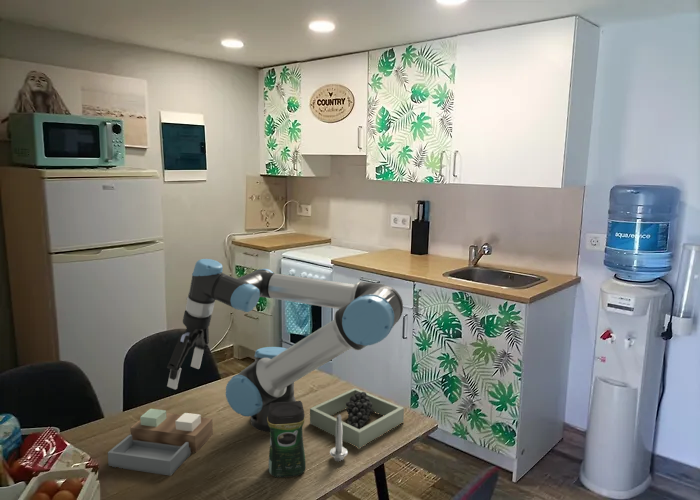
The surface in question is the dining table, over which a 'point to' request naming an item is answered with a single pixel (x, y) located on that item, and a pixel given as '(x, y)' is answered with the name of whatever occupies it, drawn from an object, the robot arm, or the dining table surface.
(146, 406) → the dining table surface
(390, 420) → the fruit crate
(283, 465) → the coffee jar
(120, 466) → the tray
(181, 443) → the walnut riser
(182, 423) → the cream tile
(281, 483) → the dining table surface
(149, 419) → the sage tile
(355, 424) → the fruit
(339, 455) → the screw
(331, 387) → the dining table surface
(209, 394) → the dining table surface
